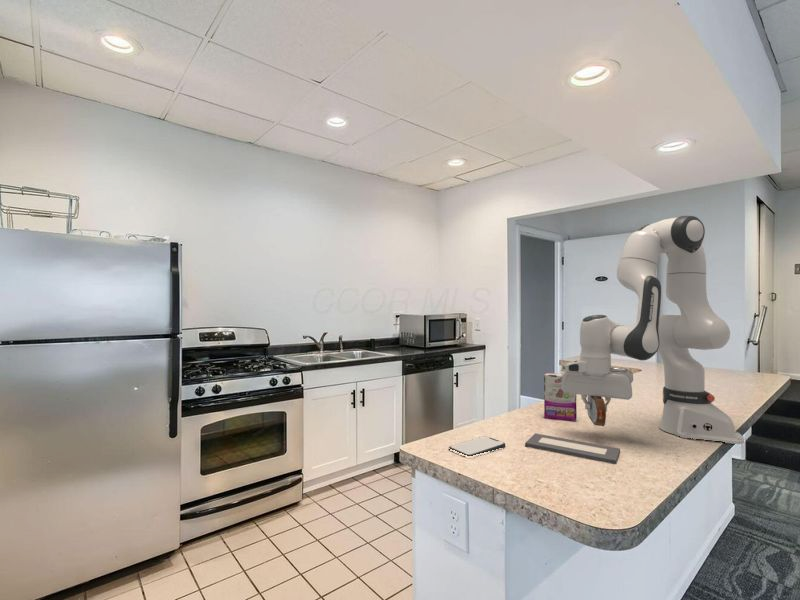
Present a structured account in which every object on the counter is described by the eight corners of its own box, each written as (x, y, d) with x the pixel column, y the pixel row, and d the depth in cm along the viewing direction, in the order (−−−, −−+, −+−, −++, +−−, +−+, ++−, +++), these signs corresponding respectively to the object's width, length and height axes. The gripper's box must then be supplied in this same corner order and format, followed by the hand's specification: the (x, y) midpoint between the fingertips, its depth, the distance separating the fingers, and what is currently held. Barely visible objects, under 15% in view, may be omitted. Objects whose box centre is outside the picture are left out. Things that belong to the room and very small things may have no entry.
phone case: (469, 461, 111) (507, 448, 120) (469, 455, 111) (507, 443, 120) (446, 452, 118) (484, 440, 127) (446, 446, 118) (484, 435, 127)
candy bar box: (576, 418, 152) (576, 374, 152) (576, 422, 147) (576, 376, 147) (544, 415, 156) (544, 372, 156) (543, 418, 151) (544, 374, 151)
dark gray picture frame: (620, 452, 117) (620, 448, 117) (616, 464, 108) (616, 460, 108) (535, 436, 130) (535, 433, 130) (525, 446, 121) (525, 442, 121)
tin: (605, 430, 122) (608, 402, 121) (594, 428, 122) (597, 400, 122) (594, 416, 136) (597, 391, 136) (584, 414, 137) (587, 389, 137)
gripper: (633, 367, 126) (634, 412, 126) (564, 362, 138) (564, 403, 138) (632, 370, 121) (633, 417, 121) (559, 365, 132) (560, 408, 132)
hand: (596, 409), depth 129 cm, fingers closed on tin, 3 cm apart
